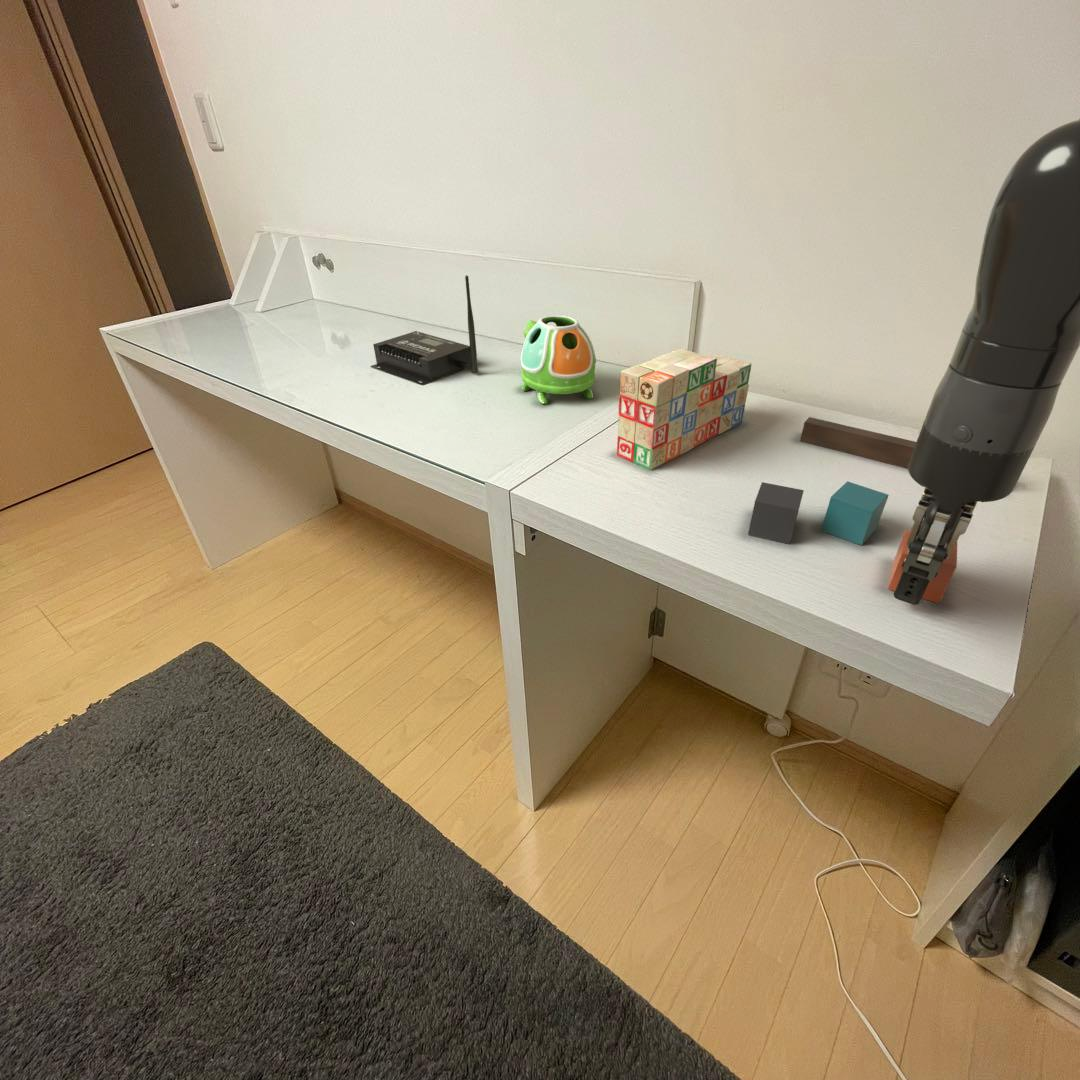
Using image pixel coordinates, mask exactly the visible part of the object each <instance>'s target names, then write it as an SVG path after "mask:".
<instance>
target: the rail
mask: <svg viewBox="0 0 1080 1080" xmlns="http://www.w3.org/2000/svg"><path fill="white" fill-rule="evenodd" d="M799 441H800V442H801V443H806V444H809V445H814V446H818V447H822V448H826V449H830V450H834V451H838V452H842V453H845V454H850V455H852V456H853V455H854V456H858V457H861V458H865V459H869V460H872V461H876V462H877V461H878V462H880V463H885V464H887V465H888V464H889V465H892V466H897V467H901V468H904V469H908V464H909V461H910V458H911V456H912V453H913V450H914V448H915V445H916V442H917V441H914V440H911V439H906V438H901V437H897V436H893V435H890V434H889V435H888V434H884V433H880V432H876V431H871V430H868V429H867V430H866V429H864V428H858V427H854V426H850V425H846V424H841V423H838V422H837V423H836V422H833V421H830V420H829V421H828V420H824V419H820V418H816V417H811V416H808V418H806V420H805V421H804V423H803V426H802V431H801V435H800V439H799Z"/></svg>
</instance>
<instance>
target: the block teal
mask: <svg viewBox="0 0 1080 1080" xmlns="http://www.w3.org/2000/svg"><path fill="white" fill-rule="evenodd" d="M888 498H889V494H887V493H885V492H882V491H878V490H875V489H872V488H869V487H866V486H864V485H861V484H858V483H854V482H851V481H846V482H845V483H844V484H843V485H841V486H840V487H839V488H838V489H837V490H836V491H835V492H834V493H833V494H832V495H831V496H830V498H829V501H828V505H827V509H826V511H825V512H826V513H825V515H824V519H823V523H822V525H821V529H820V531H822V532H825V533H827V534H830V535H832V536H835V537H838V538H840V539H843V540H845V541H848V542H850V543H853V544H856V545H859V546H863V545H864V544H865V542H866V541H867V540H868V539H869V538H871V536H872V535H873V533H874V532H875V531H876V530H877V529H878V526H879V523H880V521H881V518H882V515H883V512H884V509H885V506H886V504H887V501H888Z"/></svg>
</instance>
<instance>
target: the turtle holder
mask: <svg viewBox="0 0 1080 1080" xmlns="http://www.w3.org/2000/svg"><path fill="white" fill-rule="evenodd" d="M549 323H554V324H555V325H550V324H549ZM523 336H524V342H523V345H522V349H521V354H520V365H521V376H520V377H521V379H522V382H523V384H522V386H521V390H522V391H524V392H525V391H529V390H530V389H532V390H534V391H536V400H537V402H538V403H539V404H541V405H546V404H548V398H547V394H551V395H570V394H577V393H581V392H582V393H583V395H584V397H585V399H593V398H594V391H593V390H592V388H591V387H592V386H593V385H594V383H595V380H596V363H597V356H596V351H595V348H594V345H593V341H592V340H591V337H590V336H589V334H588V333H587V332H586V330H585V329H584V328H583V327H582V326H581V324H580V323H579V321H578V320H577V319H576V318H574V317H572V316H568V315H562V314H559V315H557V314H555V315H546V316H542V317H539V319H538V321H537V322H536V321H535V320H528V322H526V327H525V329H524V330H523Z"/></svg>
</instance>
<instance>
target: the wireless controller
mask: <svg viewBox="0 0 1080 1080" xmlns="http://www.w3.org/2000/svg"><path fill="white" fill-rule="evenodd" d="M469 278H470V277H469V276H468V275H467V274H466V275H465V276H464V281H465V290H466V292H465V293H466V301H467V302H466V304H467V309H466V311H467V331H468V341H469V345H467V344H464V343H460V342H457V341H453V340H450V339H447V338H442V337H439V336H435V335H431V334H428V333H424V332H421V331H417V330H415V331H411V332H408V333H405V334H401V335H399V336H396V337H391V338H389V339H385V340H383V341H380V342H376V343H373V351H374V355H375V362H376V363H375V364H372V365H370V366H369V367H370V368H372V369H375V370H377V371H380V372H383V373H387V374H389V375H393V376H395V377H398V378H400V379H403V380H406V381H409V382H411V383H415V384H417V385H421V386H425V385H427V384H431V383H433V382H435V381H438V380H441V379H443V378H447V377H448V376H451V375H454V374H457V373H459V372H461V371H465V370H469V371H471V372H472V374H478V373H479V363H478V352H477V343H476V341H477V340H476V329H475V321H474V315H473V307H472V302H471V301H472V300H471V291H470V290H471V288H470V280H469Z"/></svg>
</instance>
